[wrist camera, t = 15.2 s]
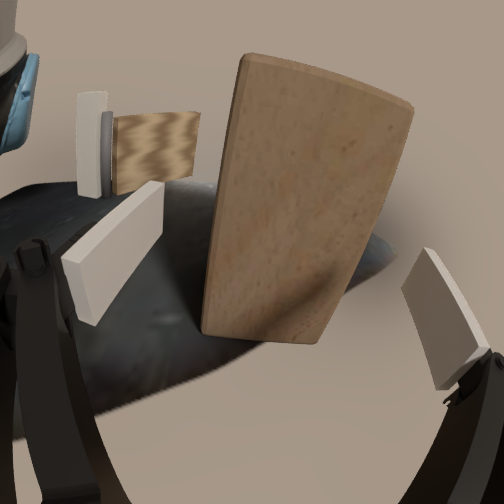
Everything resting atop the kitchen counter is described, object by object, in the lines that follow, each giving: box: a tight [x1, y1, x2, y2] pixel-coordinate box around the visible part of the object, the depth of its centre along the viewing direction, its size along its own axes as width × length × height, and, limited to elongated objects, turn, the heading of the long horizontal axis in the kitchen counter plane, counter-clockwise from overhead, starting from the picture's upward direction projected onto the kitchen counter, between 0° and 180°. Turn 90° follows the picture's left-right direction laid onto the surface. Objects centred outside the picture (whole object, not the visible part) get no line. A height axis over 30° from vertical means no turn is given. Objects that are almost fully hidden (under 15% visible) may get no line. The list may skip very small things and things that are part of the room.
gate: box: [112, 112, 200, 196], centre depth 42 cm, size 16×3×12 cm, turn 142°
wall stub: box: [76, 91, 113, 199], centre depth 34 cm, size 6×2×16 cm, turn 82°
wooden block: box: [200, 53, 414, 344], centre depth 21 cm, size 10×10×20 cm
